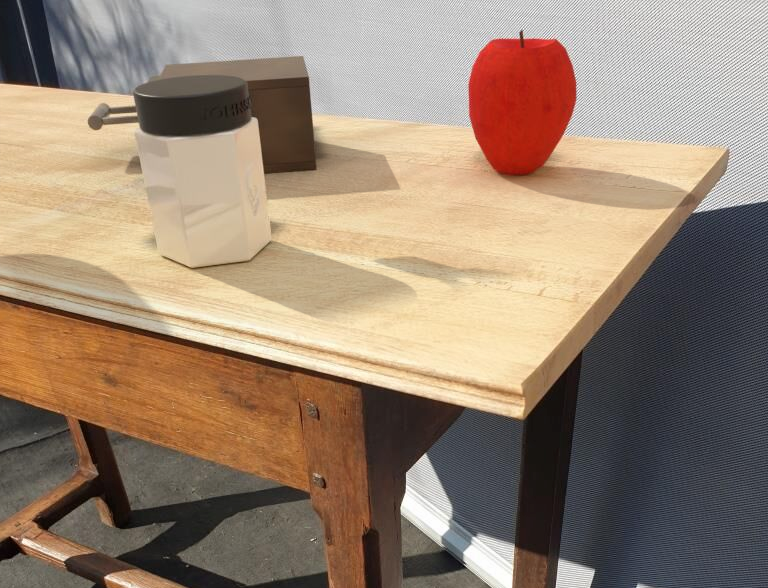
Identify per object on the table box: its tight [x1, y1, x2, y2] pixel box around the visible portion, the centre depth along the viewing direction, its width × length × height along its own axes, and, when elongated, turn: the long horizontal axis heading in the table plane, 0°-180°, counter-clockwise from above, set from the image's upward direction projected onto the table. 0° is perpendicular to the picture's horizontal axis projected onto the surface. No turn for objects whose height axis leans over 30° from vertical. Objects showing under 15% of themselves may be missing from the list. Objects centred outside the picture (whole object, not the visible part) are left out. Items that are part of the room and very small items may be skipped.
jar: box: [132, 75, 273, 269], centre depth 63 cm, size 9×8×12 cm
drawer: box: [87, 75, 160, 131], centre depth 86 cm, size 19×11×7 cm, turn 97°
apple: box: [467, 29, 578, 176], centre depth 77 cm, size 10×10×12 cm
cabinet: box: [158, 55, 317, 174], centre depth 86 cm, size 15×13×9 cm
